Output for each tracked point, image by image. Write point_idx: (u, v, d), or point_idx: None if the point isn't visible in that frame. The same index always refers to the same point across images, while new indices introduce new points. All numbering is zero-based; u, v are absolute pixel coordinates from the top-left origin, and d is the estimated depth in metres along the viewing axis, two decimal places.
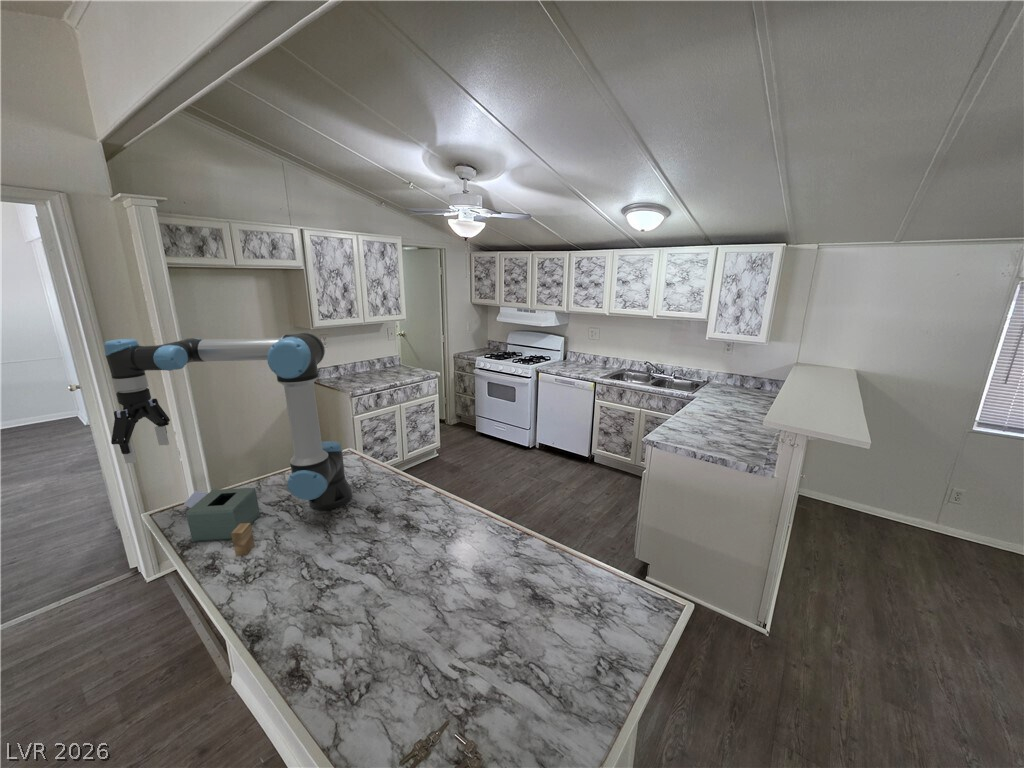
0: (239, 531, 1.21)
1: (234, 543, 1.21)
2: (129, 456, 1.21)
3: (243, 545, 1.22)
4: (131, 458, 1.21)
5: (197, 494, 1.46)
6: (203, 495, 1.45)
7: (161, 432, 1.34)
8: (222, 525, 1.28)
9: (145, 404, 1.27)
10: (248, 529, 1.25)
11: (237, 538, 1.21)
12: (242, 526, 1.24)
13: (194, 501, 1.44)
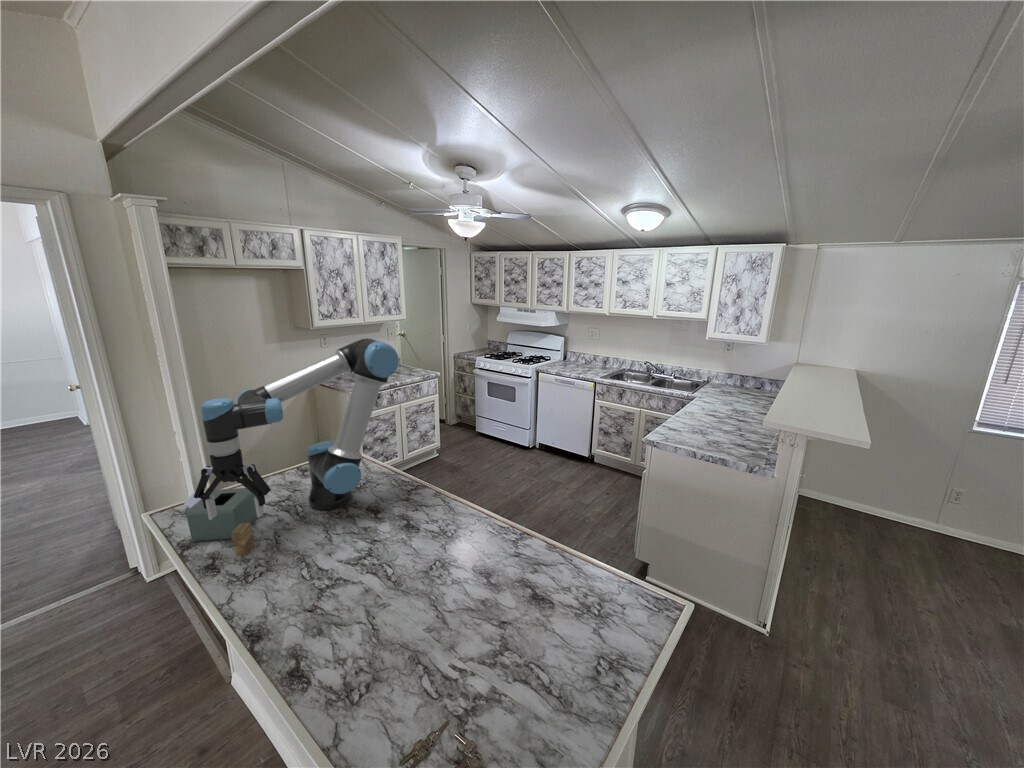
0: (239, 531, 1.21)
1: (234, 543, 1.21)
2: None
3: (243, 545, 1.22)
4: None
5: None
6: None
7: None
8: (222, 525, 1.28)
9: (233, 470, 1.17)
10: (249, 529, 1.25)
11: (237, 538, 1.21)
12: (242, 526, 1.24)
13: (194, 502, 1.44)
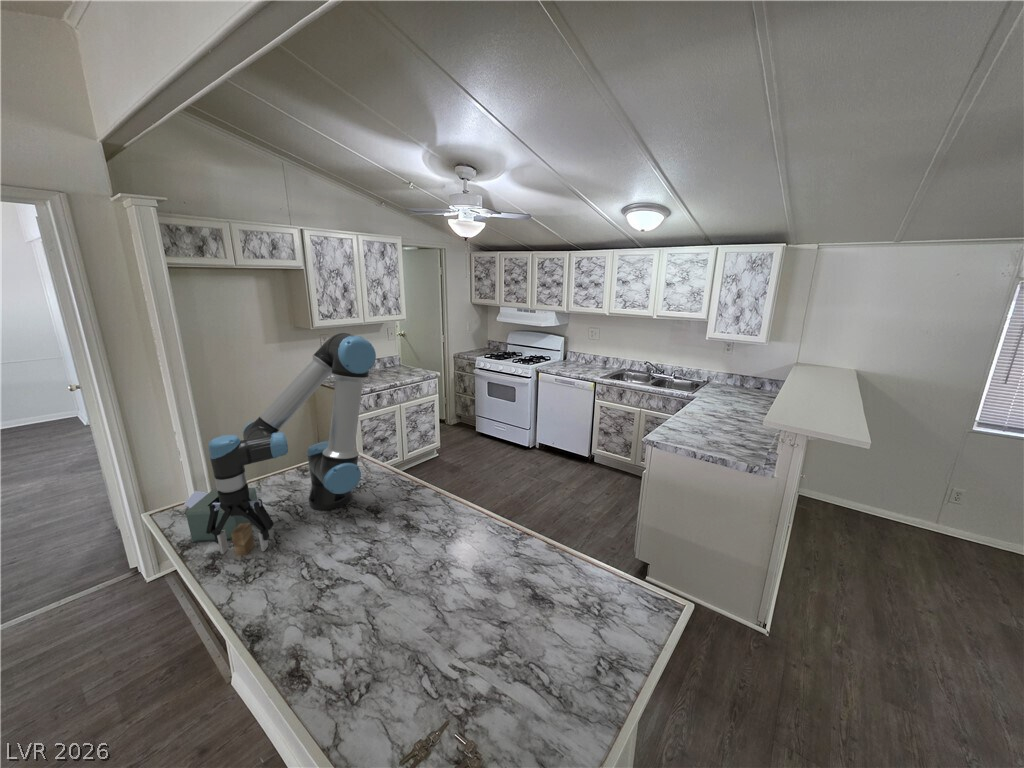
0: (239, 531, 1.21)
1: (234, 543, 1.21)
2: None
3: (243, 545, 1.22)
4: None
5: (197, 494, 1.46)
6: (203, 495, 1.45)
7: None
8: None
9: (240, 504, 1.20)
10: (248, 529, 1.25)
11: (237, 538, 1.21)
12: (242, 526, 1.24)
13: (194, 502, 1.44)
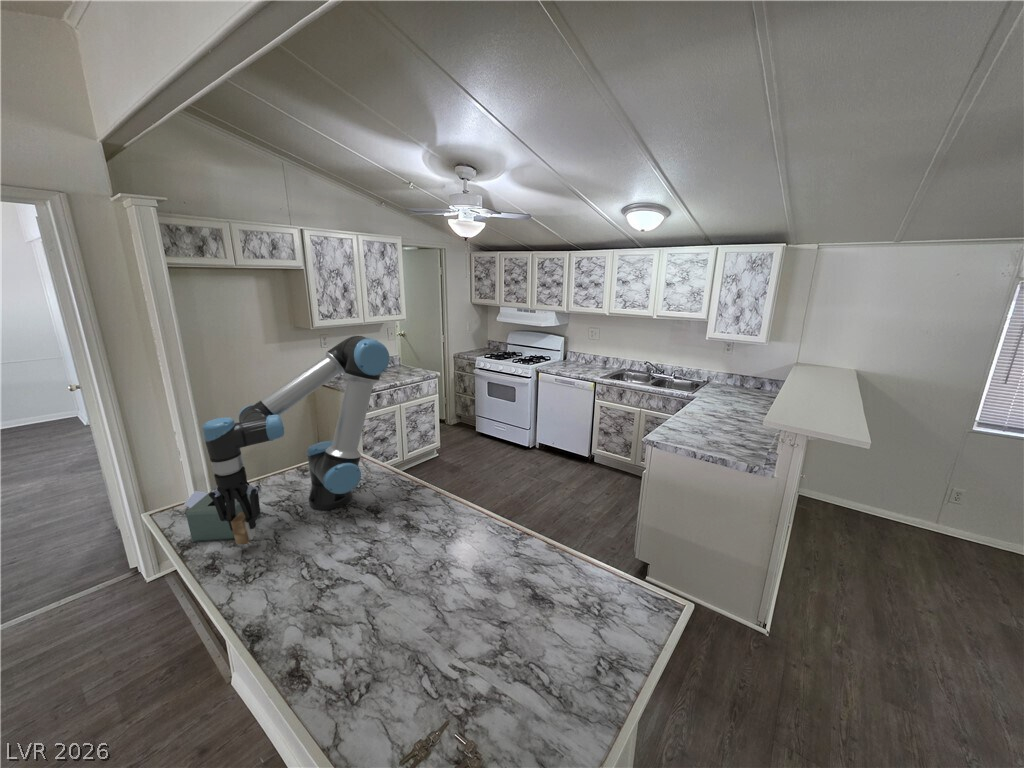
0: (239, 520, 1.21)
1: (234, 532, 1.21)
2: None
3: (244, 533, 1.21)
4: None
5: (197, 494, 1.46)
6: (203, 495, 1.45)
7: None
8: (222, 525, 1.28)
9: (238, 485, 1.18)
10: None
11: (237, 527, 1.20)
12: (242, 515, 1.23)
13: (194, 501, 1.44)
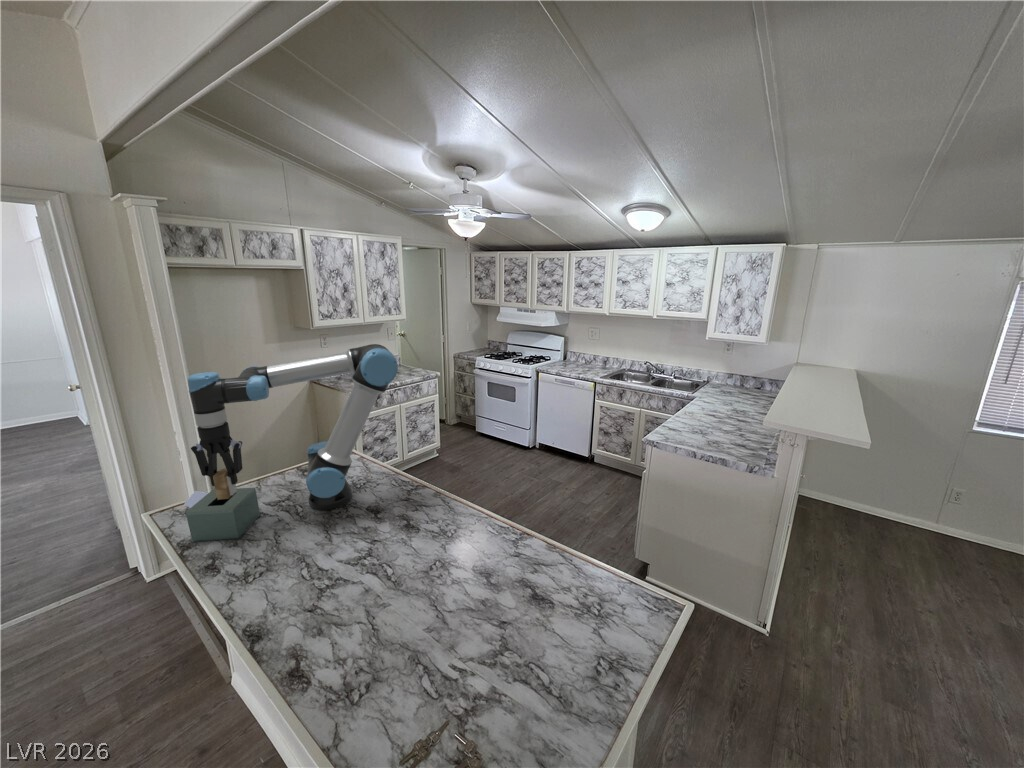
0: (221, 474, 1.23)
1: (216, 486, 1.23)
2: None
3: (225, 488, 1.23)
4: None
5: (197, 494, 1.46)
6: (203, 495, 1.45)
7: None
8: (222, 525, 1.28)
9: (222, 439, 1.21)
10: None
11: (218, 481, 1.22)
12: (223, 470, 1.25)
13: (194, 501, 1.44)
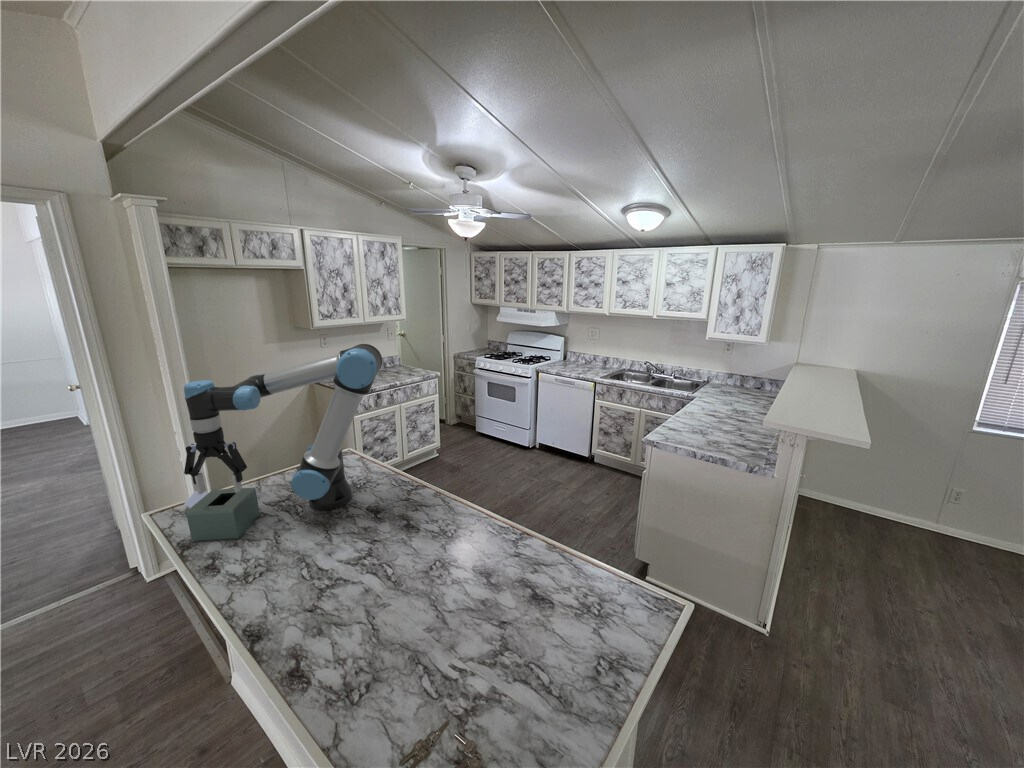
0: None
1: None
2: None
3: None
4: None
5: (197, 494, 1.46)
6: (203, 495, 1.45)
7: None
8: (222, 525, 1.28)
9: (215, 445, 1.28)
10: None
11: None
12: None
13: (194, 501, 1.44)
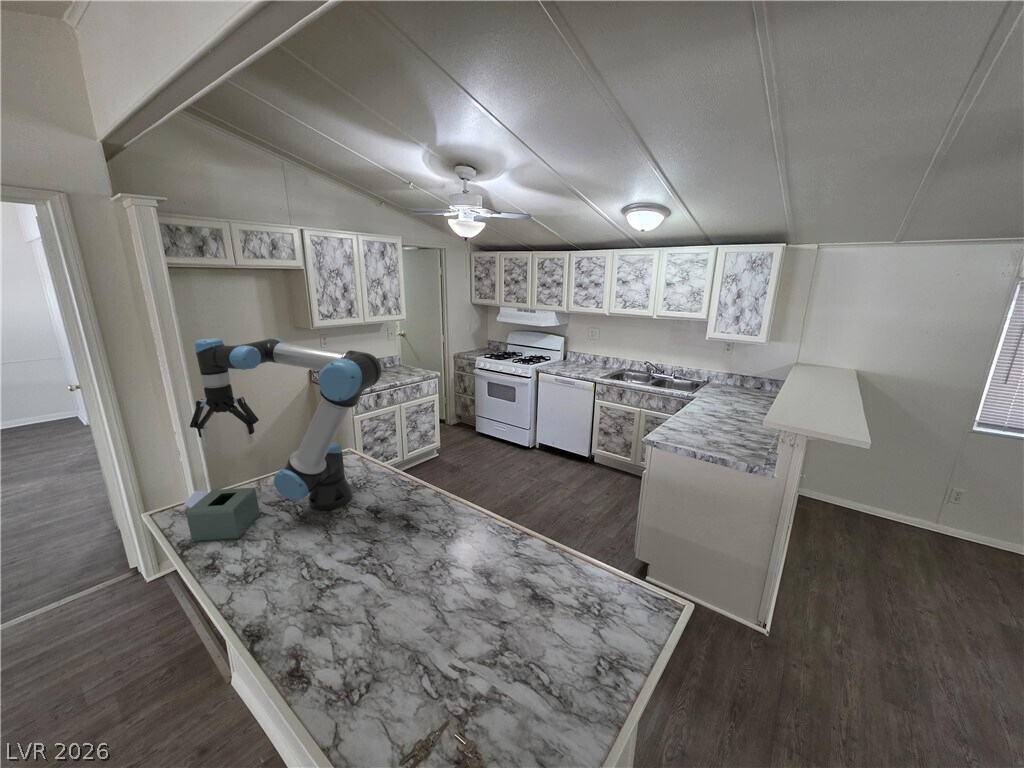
0: None
1: None
2: None
3: None
4: None
5: (197, 494, 1.46)
6: (203, 495, 1.45)
7: None
8: (222, 525, 1.28)
9: (225, 401, 1.34)
10: None
11: None
12: None
13: (194, 501, 1.44)
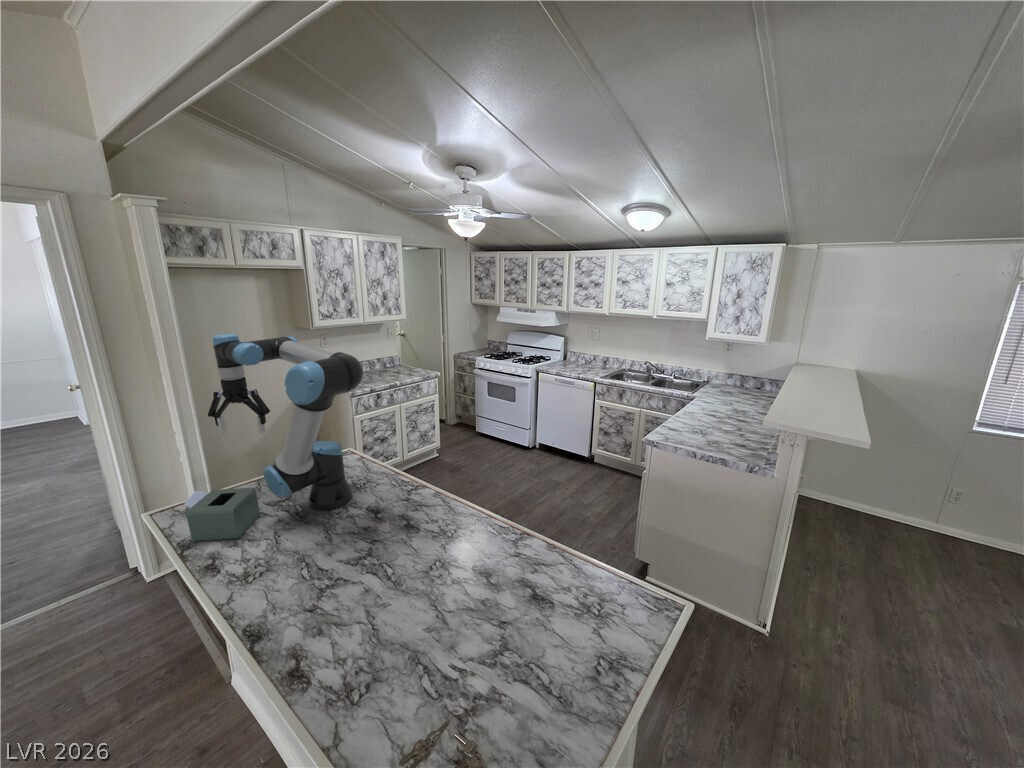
0: None
1: None
2: None
3: None
4: None
5: (197, 494, 1.46)
6: (203, 495, 1.45)
7: None
8: (222, 525, 1.28)
9: (239, 392, 1.44)
10: None
11: None
12: None
13: (194, 501, 1.44)
